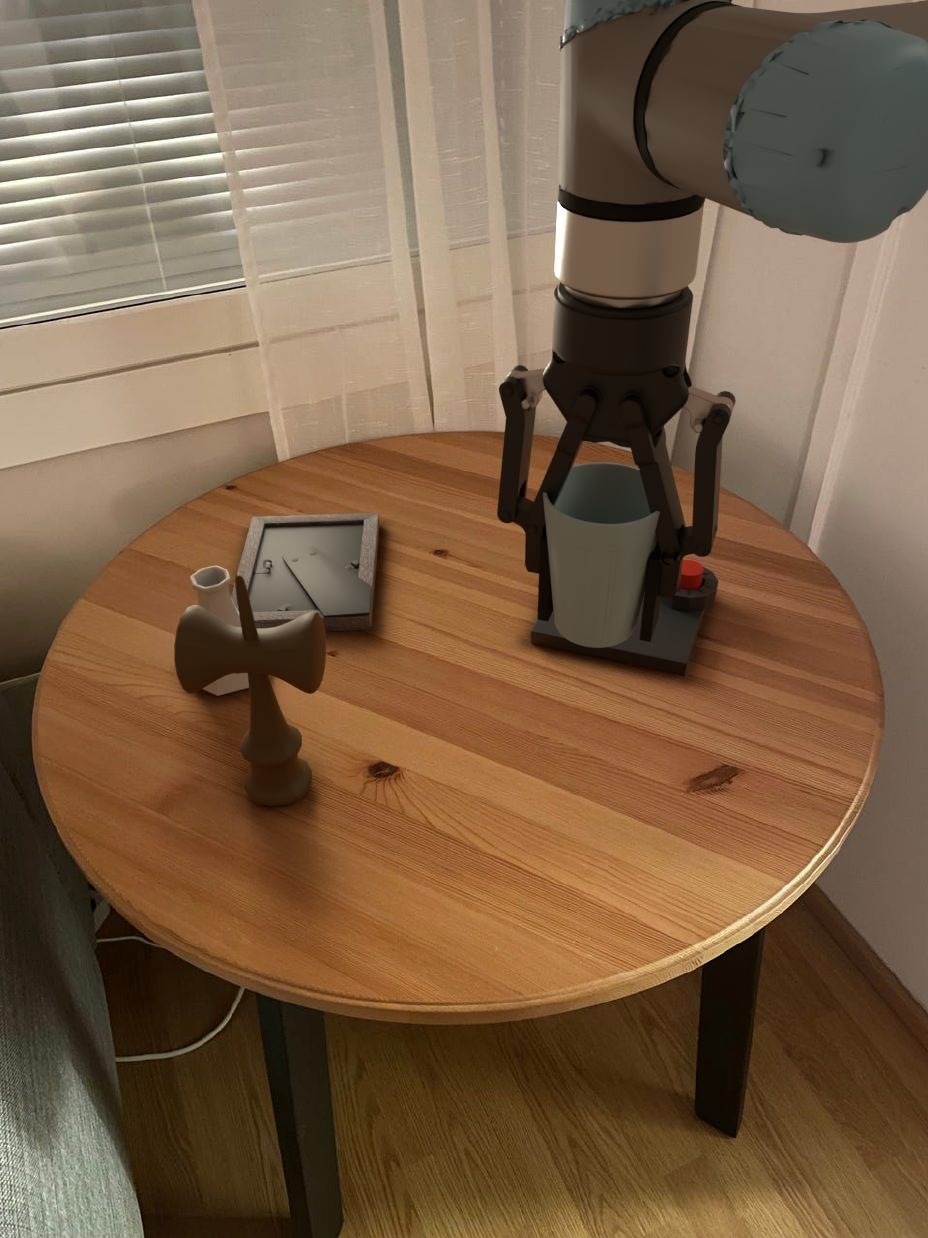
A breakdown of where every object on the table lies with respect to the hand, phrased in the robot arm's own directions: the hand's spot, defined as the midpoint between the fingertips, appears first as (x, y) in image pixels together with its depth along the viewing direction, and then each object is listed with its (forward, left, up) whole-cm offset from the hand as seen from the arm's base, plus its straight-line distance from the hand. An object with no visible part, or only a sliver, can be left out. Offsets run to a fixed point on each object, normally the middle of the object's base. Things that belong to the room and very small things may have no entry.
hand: (598, 618), depth 68 cm
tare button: (-3, -24, -13) cm, 27 cm away
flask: (+33, -2, -15) cm, 37 cm away
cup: (0, 0, -1) cm, 1 cm away
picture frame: (+33, -17, -15) cm, 40 cm away
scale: (+2, -20, -15) cm, 25 cm away
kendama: (+22, +9, -15) cm, 28 cm away
